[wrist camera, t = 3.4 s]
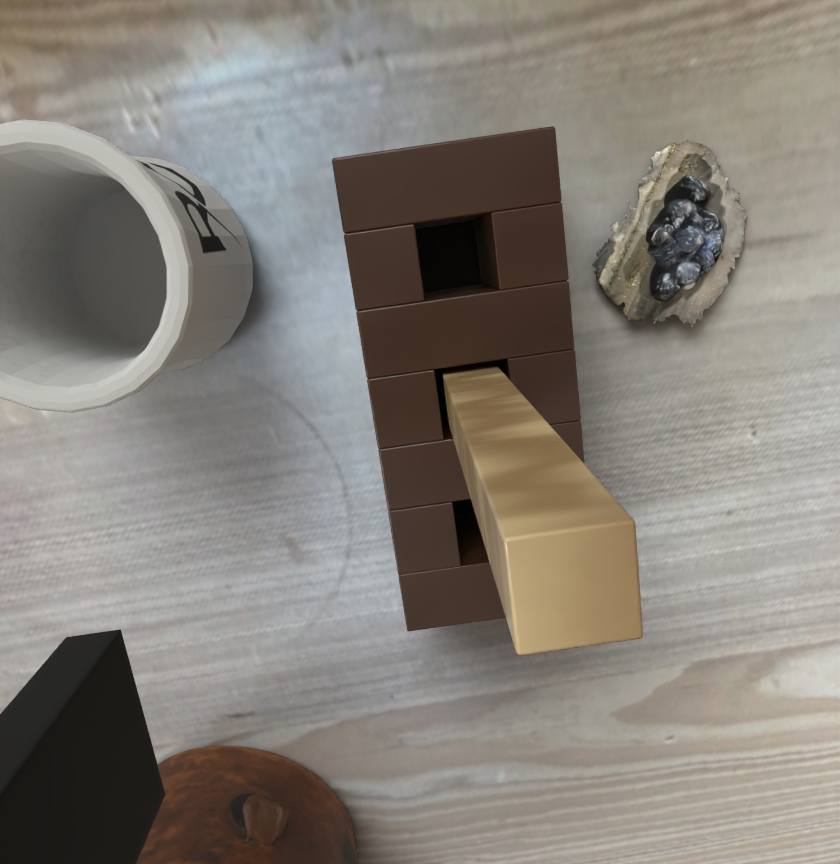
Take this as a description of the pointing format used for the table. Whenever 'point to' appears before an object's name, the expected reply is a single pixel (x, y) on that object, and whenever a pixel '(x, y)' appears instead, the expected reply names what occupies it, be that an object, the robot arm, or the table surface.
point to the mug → (108, 268)
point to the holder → (455, 336)
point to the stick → (542, 519)
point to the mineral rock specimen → (674, 238)
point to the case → (246, 812)
